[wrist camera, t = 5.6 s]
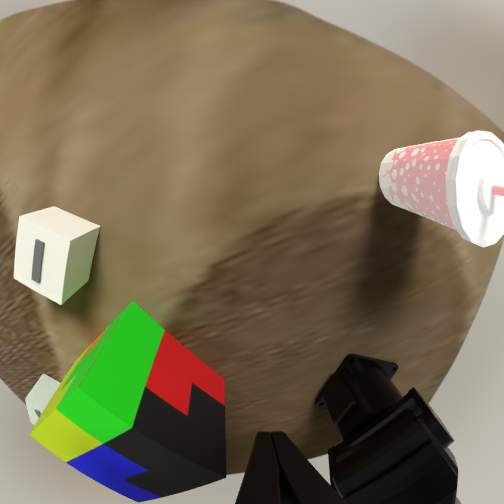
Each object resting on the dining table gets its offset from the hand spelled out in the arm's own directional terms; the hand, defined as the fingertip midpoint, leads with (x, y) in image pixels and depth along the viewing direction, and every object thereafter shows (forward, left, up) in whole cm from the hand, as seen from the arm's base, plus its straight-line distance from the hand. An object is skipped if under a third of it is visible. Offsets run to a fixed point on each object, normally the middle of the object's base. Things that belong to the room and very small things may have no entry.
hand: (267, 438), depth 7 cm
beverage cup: (-8, -12, -13) cm, 20 cm away
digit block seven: (+13, +20, -13) cm, 27 cm away
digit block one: (+13, +2, -13) cm, 19 cm away
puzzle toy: (+5, +11, -13) cm, 18 cm away
